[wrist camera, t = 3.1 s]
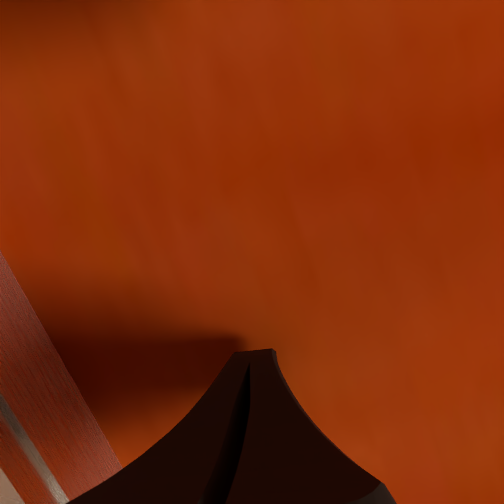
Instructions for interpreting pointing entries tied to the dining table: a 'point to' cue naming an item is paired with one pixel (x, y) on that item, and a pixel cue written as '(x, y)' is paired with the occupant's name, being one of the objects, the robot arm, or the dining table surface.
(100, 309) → the dining table surface
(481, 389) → the dining table surface
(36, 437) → the block
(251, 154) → the dining table surface
